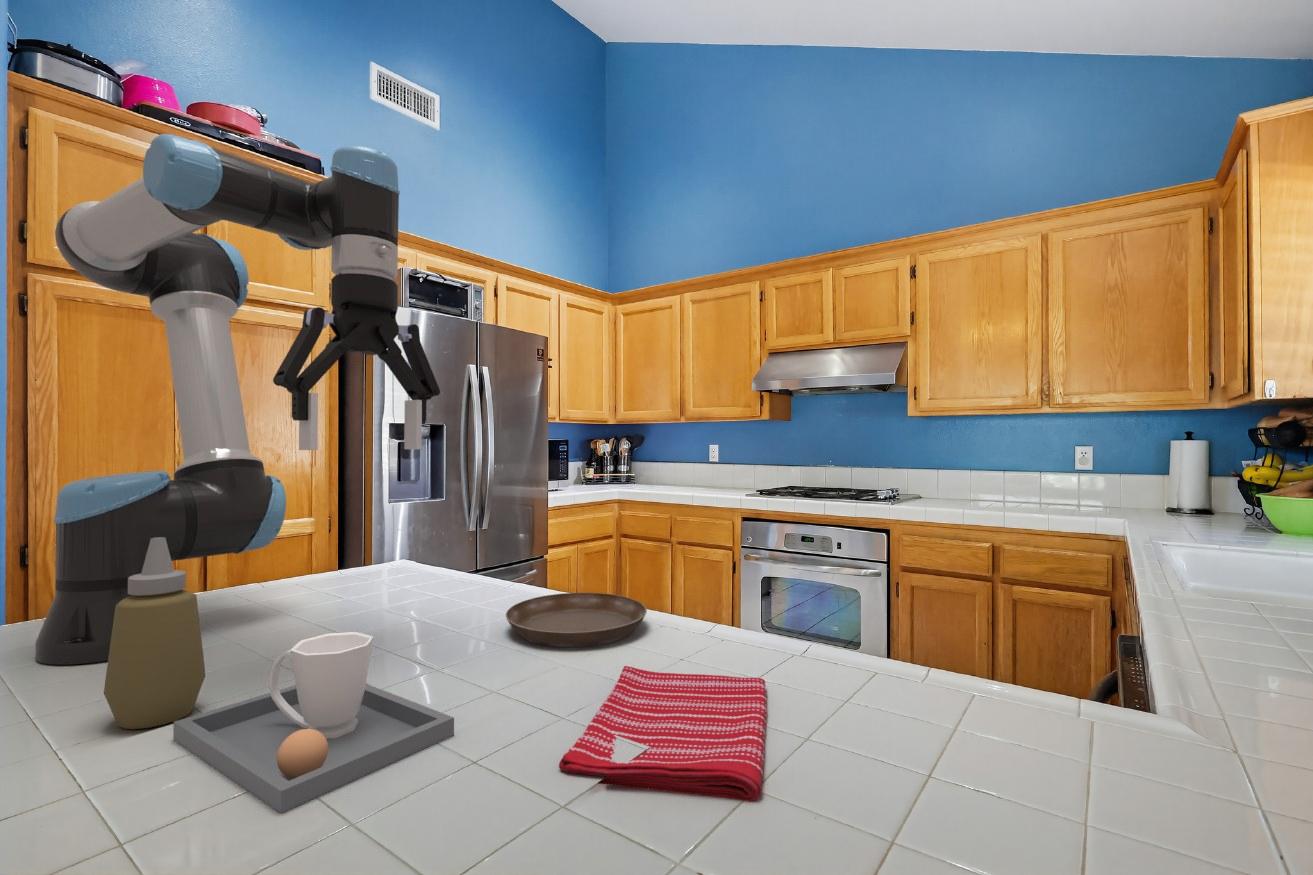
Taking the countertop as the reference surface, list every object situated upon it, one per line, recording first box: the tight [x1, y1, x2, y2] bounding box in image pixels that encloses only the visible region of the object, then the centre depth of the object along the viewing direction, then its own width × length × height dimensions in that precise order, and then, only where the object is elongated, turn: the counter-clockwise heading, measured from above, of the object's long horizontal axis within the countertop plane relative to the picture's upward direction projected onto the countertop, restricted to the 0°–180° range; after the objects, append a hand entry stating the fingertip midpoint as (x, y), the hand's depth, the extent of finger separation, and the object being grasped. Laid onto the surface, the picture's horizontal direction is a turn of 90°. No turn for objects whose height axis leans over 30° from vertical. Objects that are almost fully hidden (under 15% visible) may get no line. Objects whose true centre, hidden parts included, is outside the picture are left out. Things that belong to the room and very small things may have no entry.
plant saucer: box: [505, 592, 648, 648], centre depth 94 cm, size 21×21×3 cm
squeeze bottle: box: [103, 537, 206, 730], centre depth 64 cm, size 8×8×18 cm
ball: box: [277, 729, 328, 779], centre depth 51 cm, size 4×4×4 cm
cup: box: [268, 631, 374, 739], centre depth 60 cm, size 7×10×8 cm
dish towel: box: [558, 665, 768, 802], centre depth 61 cm, size 17×24×3 cm
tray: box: [172, 683, 455, 815], centre depth 58 cm, size 20×15×2 cm
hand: (364, 450), depth 78 cm, fingers open, 13 cm apart
